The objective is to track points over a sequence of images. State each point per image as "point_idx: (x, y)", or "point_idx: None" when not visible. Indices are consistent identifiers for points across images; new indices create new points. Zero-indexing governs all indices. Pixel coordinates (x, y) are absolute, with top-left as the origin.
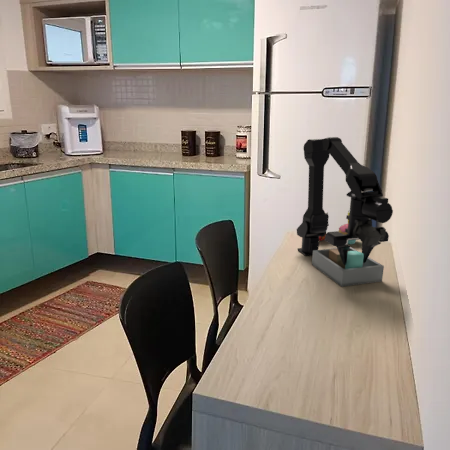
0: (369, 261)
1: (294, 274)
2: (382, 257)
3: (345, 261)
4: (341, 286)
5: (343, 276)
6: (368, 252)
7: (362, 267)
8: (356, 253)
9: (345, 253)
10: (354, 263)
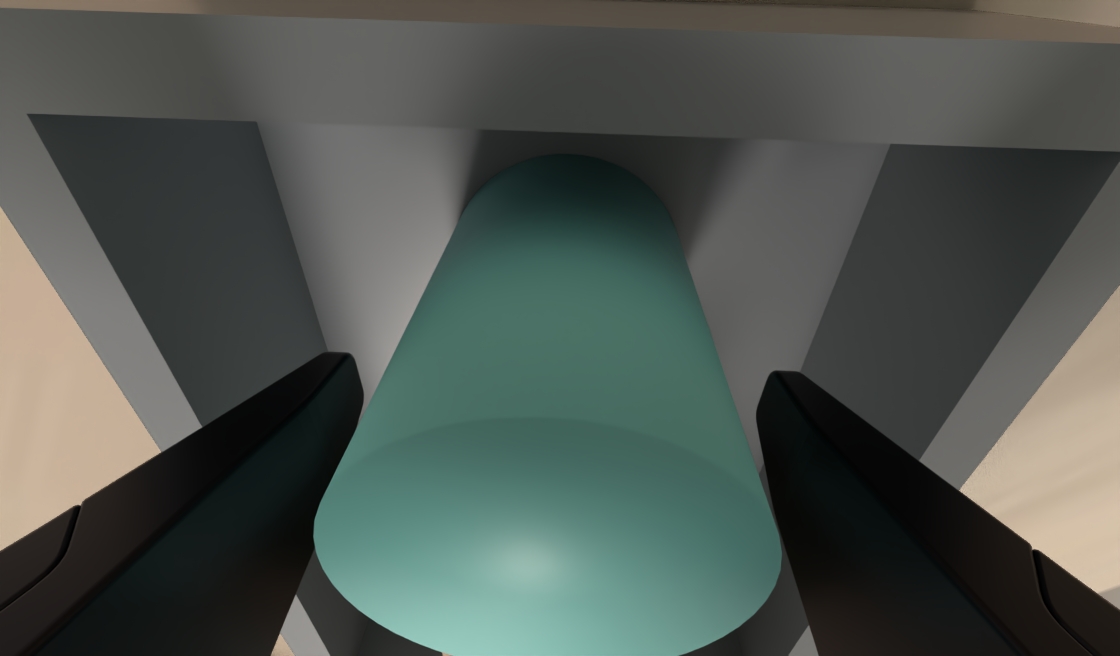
0: (215, 389)
1: (1073, 474)
2: (35, 521)
3: (841, 417)
4: (977, 10)
5: (1109, 27)
6: (123, 535)
7: (568, 102)
8: (503, 577)
9: (1103, 635)
10: (668, 312)
